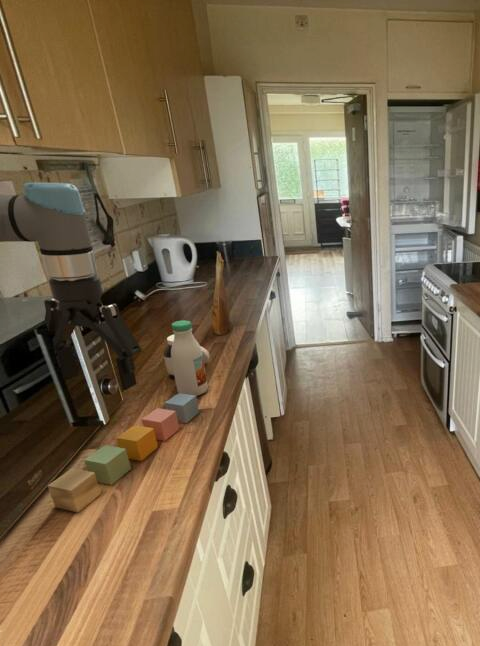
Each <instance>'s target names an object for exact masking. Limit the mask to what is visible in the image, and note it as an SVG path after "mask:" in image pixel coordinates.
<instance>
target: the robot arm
mask: <svg viewBox="0 0 480 646" xmlns="http://www.w3.org/2000/svg"><path fill="white" fill-rule="evenodd" d="M22 190H23V192H22V194H0V243H3V242H4V243H9V242H10V243H11V242H12V243H13V242H27V243H33V242H36V243H37V245H38V248H39V252H40V256H41V259H42V264H43V268H44V271H45V276H47V277H49V280H48V284H49V288H50V292H51V296H52V298H48V299H45V300H44V301H43V303H44V309H45V315H44V320H46V326H47V328H48V331H49V332H55V333H56V334H55V336H54V337H53V339H52V341H53V347H54V349H56V353H57V357H58V360H59V362H58V364H59V367H60V370H61V374H62V379H63V380H64V381H69V380H71V379H73V378H75V377H77V376H79V375H80V373H79V369H78V365H77V361H76V358H75V355H74V350H73V346H72V344H69V343H70V341H69V340H70V338H71V336H72V334H73V333H74V331H75V329H76V327H80V326H81V327H84V328H89V329H90V330H91V331H92V332H96V333H97V334H98V335H99V337H100V338H101V339H102V340H103V341H104V342H105V344H107V346H109V347H110V348H111V350H112V351H113V352H114V353H115V354H116V356H118V357H117V358H115V362H116V366H117V371H118V376H119V380H120V384H121V390H123V391H127V390H129V389H130V388H132V387H134V386H136V385H137V380H136V376H135V375H136V374H135V371H136V364H135V360H134V359H135V358H134V356H136V355H138V354H140V353H141V352H142V351H143V350H142V347H141V345H140V344H139V343H138V341H137V340H136V338H135V336H134V334H133V333H132V331H131V330H130V328H129V326H128V325H127V323H126V322H125V320H124V318H123V316H122V314H121V313H120V309H119V305H118V304H117V303H111V304H108V305H104V304H103V303H102V301H101V297H102V295H103V293H104V292H103V291H104V290H103V287H102V283H101V278H100V276H99V275H98V274H97V272H98V271H99V270H98V266H97V261H96V257H95V253H94V248H93V244H92V240H91V236H90V235H91V234H90V230H89V224H88V219H87V216H86V215H87V211H86V209H85V208H84V203H83V200H82V197H81V194H80V190H79V189H78V187H76V185H73V184H71V183H68V182H44V181H43V182H41V181H40V182H38V181H37V182H35V181H34V182H25V183H24V184H23V186H22ZM54 349H53V350H54Z"/></svg>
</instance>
